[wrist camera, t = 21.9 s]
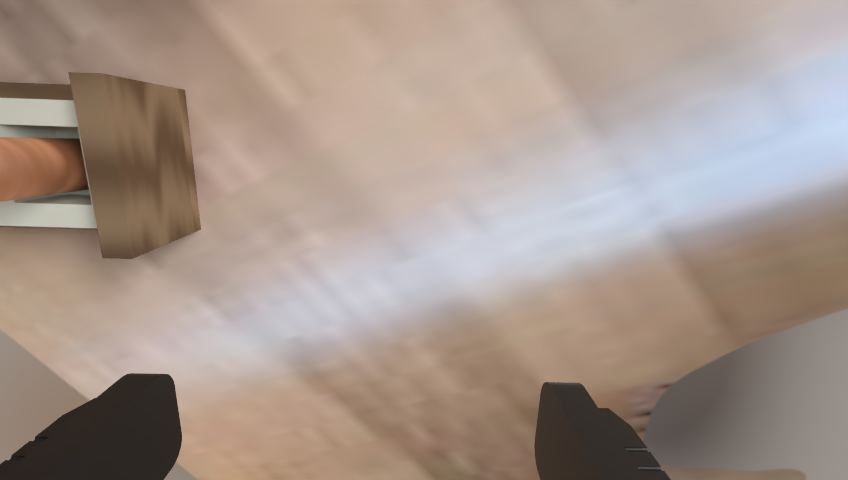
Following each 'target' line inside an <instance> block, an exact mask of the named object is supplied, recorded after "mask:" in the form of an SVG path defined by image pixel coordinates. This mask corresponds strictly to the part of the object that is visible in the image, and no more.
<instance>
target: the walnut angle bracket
mask: <svg viewBox="0 0 848 480" xmlns="http://www.w3.org/2000/svg"><path fill="white" fill-rule="evenodd" d="M69 77H70V82H71V85H61V84H33V83H5V82H0V98H21V99H49V100H74V104H75V110H76V115H77V121H78V126H79V132H80V137H81V142H82V148H83V153H84V159H85V164H86V170H87V175H88V181H89V186H90V192H91V197H92V202H93V208H94V213H95V219H96V224H97V228H75V229H97V230H98V235H99V241H100V246H101V251H102V257H103V258H122V259H133V258H135V257H137V256H140V255H142V254H144V253H147V252H149V251H151V250H154V249H156V248H158V247H161V246H163V245H165V244H168V243H170V242H172V241H174V240H177V239H179V238H181V237H184V236H186V235H188V234H191V233H193V232H195V231H198V230H200V229H201V227H200V218H199V209H198V201H197V192H196V183H195V175H194V166H193V157H192V148H191V140H190V131H189V122H188V114H187V105H186V96H185V90H182V89H177V88H172V87H167V86H162V85H157V84H151V83H146V82H141V81H136V80H131V79H126V78H121V77H116V76H111V75H106V74H99V73H71V72H69ZM2 227H29V226H2ZM39 228H66V227H39Z"/></svg>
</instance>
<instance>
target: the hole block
mask: <svg viewBox="0 0 848 480" xmlns="http://www.w3.org/2000/svg"><path fill="white" fill-rule="evenodd" d="M0 137H15V138H80V143H81V149H82V154H83V159H84V153H83V148H82V142H81V137H80V132H79V126H78V121H77V115H76V110H75V104H74V100H49V99H21V98H0ZM84 165H85V170H86V164H85V159H84ZM86 176H87V181H88V175H87V170H86ZM88 187H89V189H88V190H81V191H74V192H67V193H59V194H52V195H45V196H38V197H31V198H24V199H16V200H9V201H2V202H0V226H29V227H66V228H97V224H96V219H95V213H94V208H93V202H92V197H91V192H90V186H89V181H88Z"/></svg>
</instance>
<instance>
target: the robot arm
mask: <svg viewBox="0 0 848 480" xmlns="http://www.w3.org/2000/svg"><path fill="white" fill-rule="evenodd" d="M181 442H182V432H181V426H180V419H179V412H178V405H177V398H176V392H175V385H174V381H173V379H172V377H171V376H170V375H168V374H127V375H125V376H123V377H122V378H120V379H119V380H118V381H117V382H115V383H114V384H113V385H112V386H111V387H109V388H108V389H107V390H106V391H104V392H103V393H102V394H101V395H100V396H98V397H97V398H94V399H93V400H91V401H89V402H87V403H85V404H83V405H81V406H79V407H77V408H76V409H74V410H72V411H70V412H68V413H66V414H64V415H62V416H61V417H60V418H59V419H57V420H56V421H55V422H53V423H52V424H51V425H50V426H49V427H47V428H46V429H45V430H43V431H42V432H41V433H39V434H38V435H37V436H36V437H35V440H34V441H29V442H28V443H27V444H25V445H24V446H23V447H22V448H20V449H19V450H18V451H17V452H15V453H14V454H13V455H12V457H11V459H10V460H5V461H4V462H3V463H1V464H0V480H164V478H165V477H166V476H167V474H168V473H169V471H170V470H171V469H172V467H173V466H174V464H175V462H176V460H177V457H178V455H179V452H180V448H181ZM535 459H536V465H537V470H538V473H539V476H540V479H541V480H670V478H669V477H668V476H667V474H666V473H665V471H661V466H660V465H659V463H658V462H657V461H656V459H655V458H654V457H653V455H652V454H651V453H650V452H648V451H647V447H646V446H645V444H644V443H643V442H642V440H641V439H640V438H639V436H638V435H637V433H636V432H635V431H634V429H633V428H632V427H631V426H630V425H629V424H628V423H626V422H625V421H624V420H623V419H621V418H620V417H619V416H618V415H616V414H615V413H614V412H612V411H611V410H610V409H609V408H598V407H597V406H596V404H595V403H594V401H593V400H592V398H591V397H590V395H589V394H588V392H587V391H586V389H585V388H584V386H583V385H582V384H580V383H555V382H545V383H544V384H543V386H542V389H541V395H540V403H539V412H538V420H537V428H536V436H535Z"/></svg>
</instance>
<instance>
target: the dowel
mask: <svg viewBox="0 0 848 480" xmlns="http://www.w3.org/2000/svg"><path fill="white" fill-rule="evenodd" d="M88 189H89V187H88V181H87V176H86V170H85V165H84V159H83V154H82V149H81V143H80V138H15V137H0V202H2V201H9V200H16V199H24V198H31V197H38V196H45V195H52V194H59V193H67V192H74V191H81V190H88Z"/></svg>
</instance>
